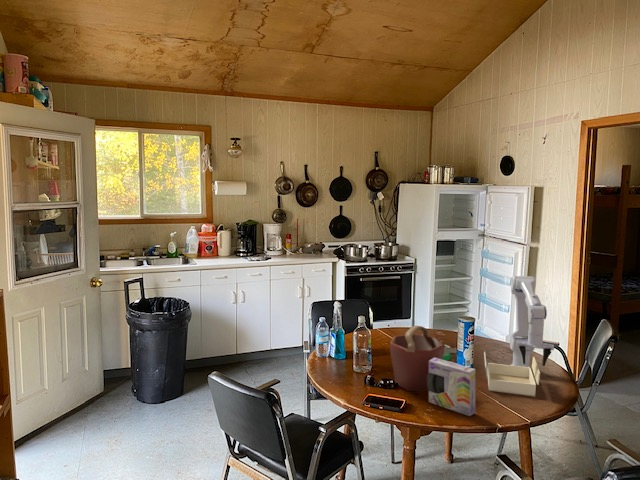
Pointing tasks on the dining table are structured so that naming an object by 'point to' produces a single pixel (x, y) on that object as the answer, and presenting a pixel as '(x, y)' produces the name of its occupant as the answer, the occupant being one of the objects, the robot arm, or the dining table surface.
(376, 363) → the dining table surface
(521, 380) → the carton
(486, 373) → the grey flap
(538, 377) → the cream flap
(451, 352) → the food container
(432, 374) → the cake pan box
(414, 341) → the bucket
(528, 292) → the robot arm
